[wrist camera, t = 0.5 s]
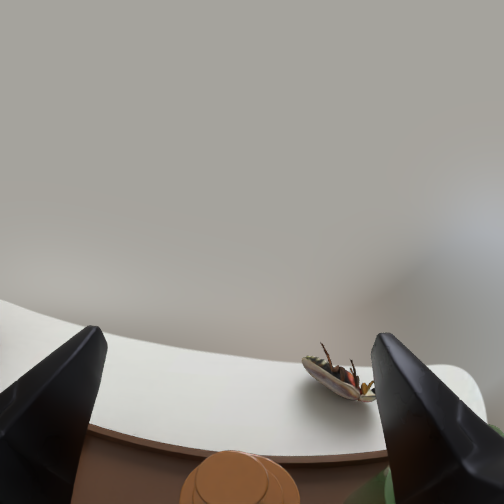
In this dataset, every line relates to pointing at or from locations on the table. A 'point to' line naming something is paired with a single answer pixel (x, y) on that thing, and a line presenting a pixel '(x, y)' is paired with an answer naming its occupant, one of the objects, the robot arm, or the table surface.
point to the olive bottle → (381, 487)
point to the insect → (338, 379)
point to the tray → (187, 459)
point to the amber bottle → (239, 481)
